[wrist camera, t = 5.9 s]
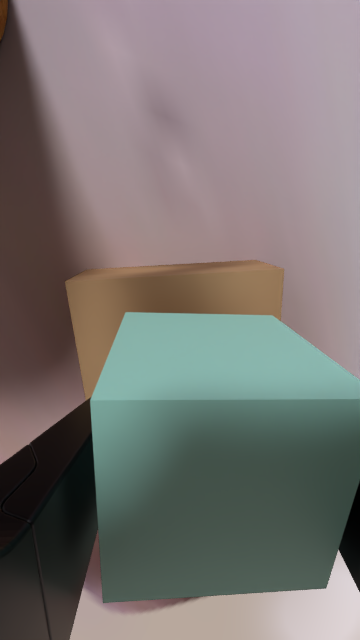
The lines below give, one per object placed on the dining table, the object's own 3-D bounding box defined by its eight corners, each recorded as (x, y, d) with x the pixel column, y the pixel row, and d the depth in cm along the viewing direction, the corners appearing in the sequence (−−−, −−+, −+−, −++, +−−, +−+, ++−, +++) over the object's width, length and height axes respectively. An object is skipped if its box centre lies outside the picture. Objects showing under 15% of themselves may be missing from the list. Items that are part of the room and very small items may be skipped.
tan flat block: (253, 259, 14) (284, 269, 10) (248, 399, 16) (271, 443, 13) (88, 268, 13) (64, 281, 10) (109, 411, 16) (96, 459, 12)
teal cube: (272, 315, 10) (385, 398, 5) (254, 434, 11) (326, 588, 6) (125, 312, 9) (90, 400, 4) (127, 437, 11) (102, 602, 6)
